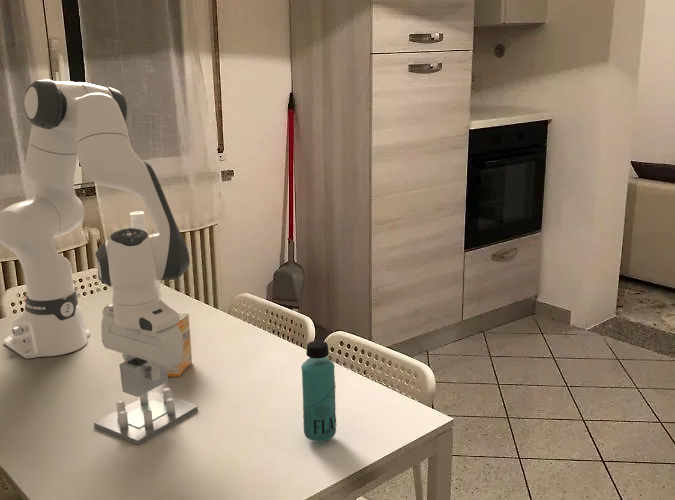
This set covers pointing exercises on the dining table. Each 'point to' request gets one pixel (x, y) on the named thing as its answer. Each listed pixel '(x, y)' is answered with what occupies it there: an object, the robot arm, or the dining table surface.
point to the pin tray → (145, 432)
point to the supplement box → (187, 357)
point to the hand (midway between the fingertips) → (144, 376)
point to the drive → (139, 377)
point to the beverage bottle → (318, 393)
